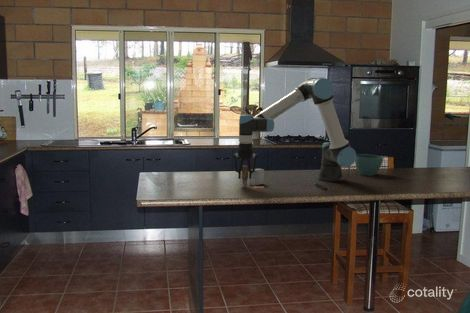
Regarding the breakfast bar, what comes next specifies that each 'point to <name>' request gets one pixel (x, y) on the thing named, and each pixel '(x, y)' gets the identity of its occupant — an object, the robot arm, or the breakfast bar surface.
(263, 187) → the joist mark
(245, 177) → the awl
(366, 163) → the plant pot
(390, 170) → the breakfast bar surface
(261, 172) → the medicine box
